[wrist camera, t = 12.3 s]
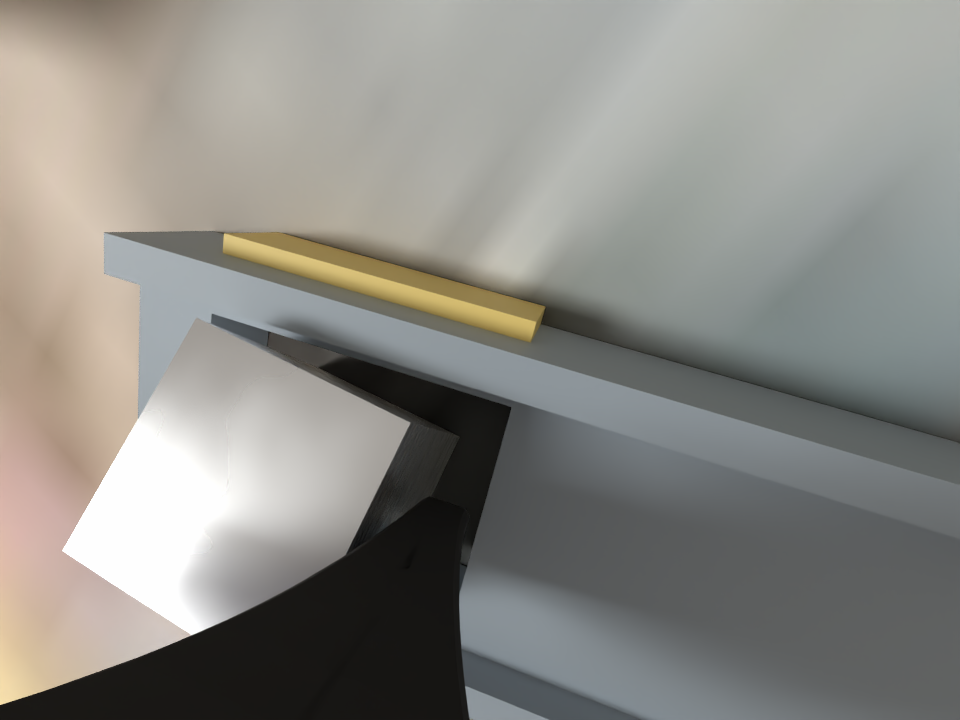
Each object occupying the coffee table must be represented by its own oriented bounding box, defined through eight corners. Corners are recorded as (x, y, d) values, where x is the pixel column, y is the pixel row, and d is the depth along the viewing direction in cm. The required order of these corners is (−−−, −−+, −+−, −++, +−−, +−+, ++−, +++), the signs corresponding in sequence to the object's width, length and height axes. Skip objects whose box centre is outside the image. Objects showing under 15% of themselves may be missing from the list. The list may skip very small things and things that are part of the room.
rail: (1116, 868, 11) (1281, 1072, 8) (195, 515, 14) (106, 580, 12) (1444, 556, 8) (1845, 711, 6) (214, 214, 12) (103, 210, 9)
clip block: (382, 599, 11) (278, 691, 7) (240, 516, 12) (63, 550, 7) (459, 437, 12) (410, 422, 7) (319, 367, 12) (196, 317, 8)
